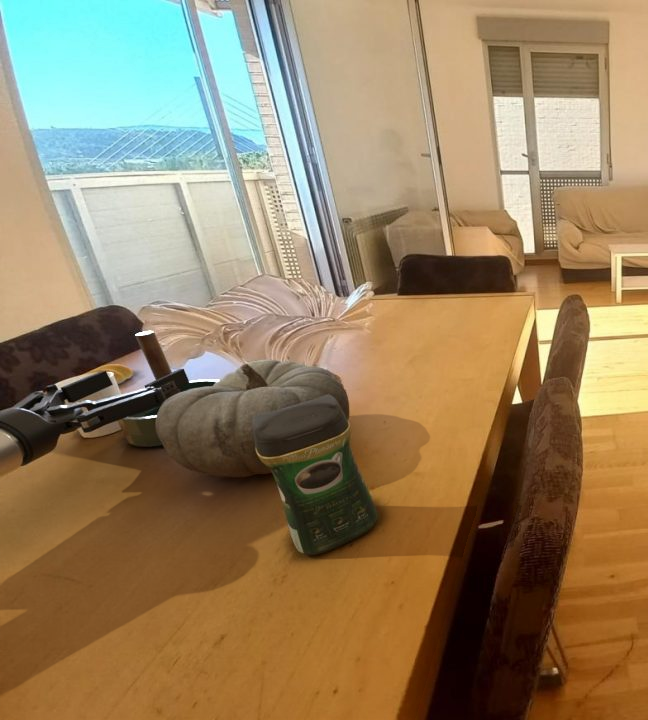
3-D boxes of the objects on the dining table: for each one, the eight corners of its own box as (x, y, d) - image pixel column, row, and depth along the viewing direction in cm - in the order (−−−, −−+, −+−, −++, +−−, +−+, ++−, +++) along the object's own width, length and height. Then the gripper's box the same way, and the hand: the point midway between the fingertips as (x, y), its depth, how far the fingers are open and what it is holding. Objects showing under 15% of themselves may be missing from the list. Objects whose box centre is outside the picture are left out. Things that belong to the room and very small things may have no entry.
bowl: (126, 428, 89) (111, 400, 86) (228, 398, 99) (218, 372, 97) (133, 460, 79) (117, 429, 76) (246, 423, 89) (235, 395, 87)
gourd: (121, 507, 64) (94, 383, 60) (220, 438, 87) (206, 346, 83) (330, 489, 70) (317, 376, 66) (370, 429, 94) (362, 343, 90)
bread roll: (141, 372, 113) (134, 357, 112) (116, 388, 105) (108, 372, 104) (98, 377, 111) (90, 362, 110) (70, 394, 103) (61, 377, 102)
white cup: (135, 413, 94) (113, 368, 90) (136, 428, 89) (112, 380, 85) (78, 429, 89) (51, 381, 85) (75, 445, 84) (47, 395, 80)
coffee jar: (368, 499, 68) (334, 383, 61) (385, 528, 62) (349, 404, 55) (289, 532, 62) (241, 408, 55) (300, 568, 57) (248, 435, 49)
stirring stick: (166, 424, 89) (123, 334, 81) (199, 413, 92) (161, 326, 85) (169, 433, 85) (125, 340, 78) (204, 422, 89) (165, 332, 82)
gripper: (-79, 471, 64) (85, 397, 83) (102, 467, 64) (224, 394, 83) (-114, 423, 61) (64, 358, 80) (76, 418, 61) (208, 355, 80)
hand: (146, 376), depth 82 cm, fingers open, 13 cm apart
